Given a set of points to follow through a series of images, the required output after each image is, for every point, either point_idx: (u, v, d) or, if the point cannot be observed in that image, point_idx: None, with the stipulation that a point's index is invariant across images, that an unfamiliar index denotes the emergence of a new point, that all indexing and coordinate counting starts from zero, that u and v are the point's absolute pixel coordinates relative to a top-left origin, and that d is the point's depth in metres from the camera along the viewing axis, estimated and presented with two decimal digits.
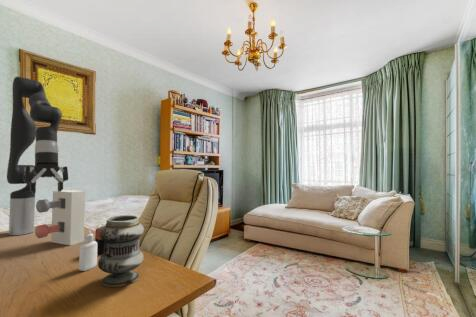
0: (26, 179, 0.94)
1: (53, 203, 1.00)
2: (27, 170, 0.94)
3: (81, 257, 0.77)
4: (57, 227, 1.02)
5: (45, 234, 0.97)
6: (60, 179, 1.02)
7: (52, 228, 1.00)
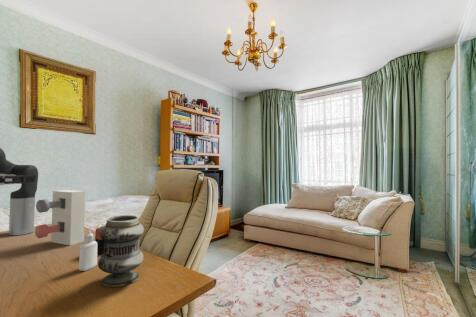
0: None
1: (53, 203, 1.00)
2: None
3: (81, 257, 0.77)
4: (57, 227, 1.02)
5: (45, 234, 0.97)
6: (19, 182, 0.87)
7: (52, 228, 1.00)
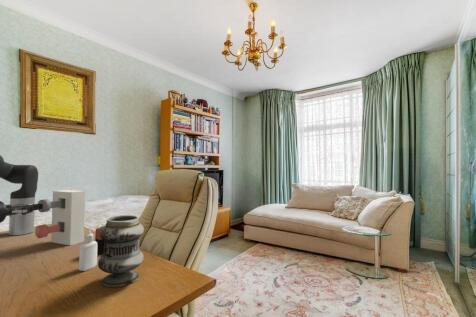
0: None
1: (54, 203, 1.01)
2: None
3: (81, 257, 0.77)
4: (57, 227, 1.02)
5: (45, 234, 0.97)
6: None
7: (52, 228, 1.00)
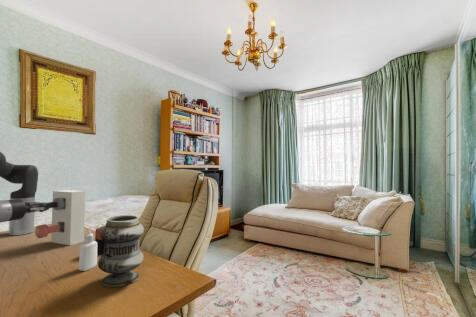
0: None
1: None
2: None
3: (81, 257, 0.77)
4: (57, 227, 1.02)
5: (45, 234, 0.97)
6: None
7: (52, 228, 1.00)
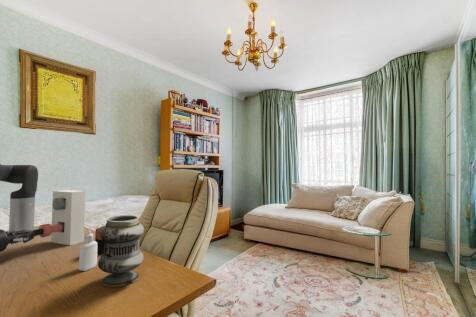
0: None
1: None
2: None
3: (81, 257, 0.77)
4: (60, 226, 1.03)
5: (48, 233, 0.98)
6: None
7: (55, 227, 1.01)
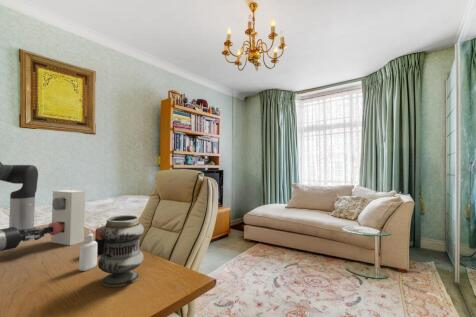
0: None
1: None
2: None
3: (81, 257, 0.77)
4: None
5: (58, 231, 1.01)
6: None
7: (64, 225, 1.04)
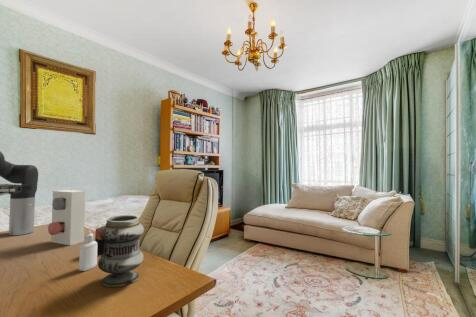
0: None
1: None
2: None
3: (81, 257, 0.77)
4: None
5: (58, 231, 1.01)
6: None
7: (64, 225, 1.04)
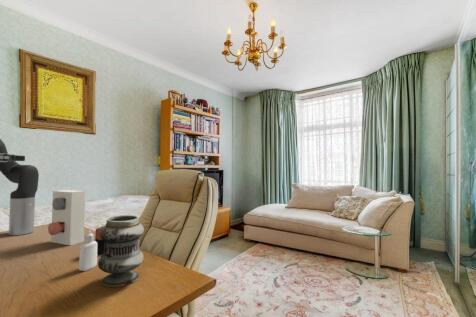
0: None
1: None
2: None
3: (81, 257, 0.77)
4: None
5: (58, 231, 1.01)
6: None
7: (64, 225, 1.04)
